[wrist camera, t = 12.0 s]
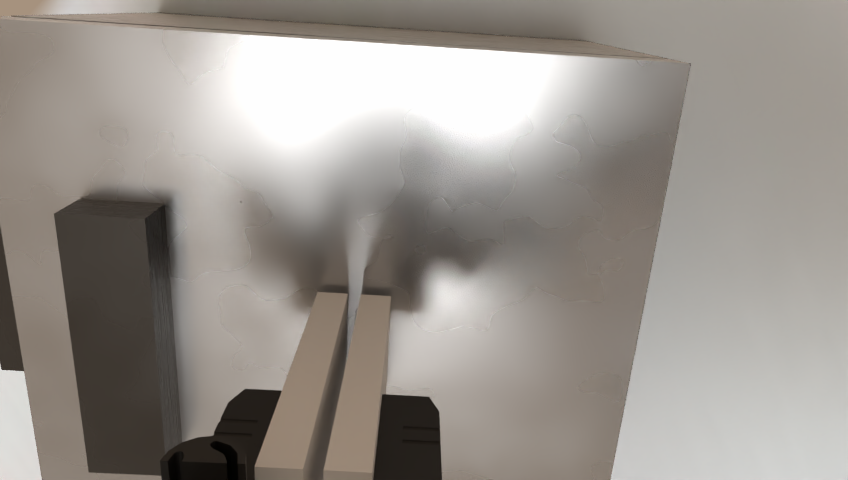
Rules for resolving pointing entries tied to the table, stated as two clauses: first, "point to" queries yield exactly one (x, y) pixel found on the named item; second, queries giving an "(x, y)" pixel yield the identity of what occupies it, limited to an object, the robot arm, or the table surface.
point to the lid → (327, 232)
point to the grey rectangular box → (3, 333)
